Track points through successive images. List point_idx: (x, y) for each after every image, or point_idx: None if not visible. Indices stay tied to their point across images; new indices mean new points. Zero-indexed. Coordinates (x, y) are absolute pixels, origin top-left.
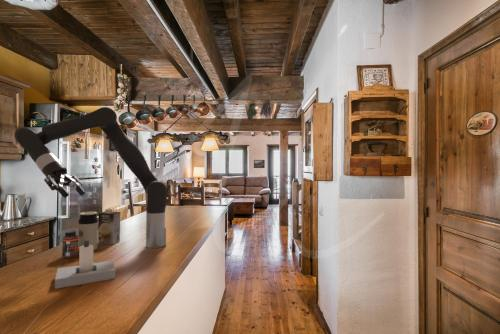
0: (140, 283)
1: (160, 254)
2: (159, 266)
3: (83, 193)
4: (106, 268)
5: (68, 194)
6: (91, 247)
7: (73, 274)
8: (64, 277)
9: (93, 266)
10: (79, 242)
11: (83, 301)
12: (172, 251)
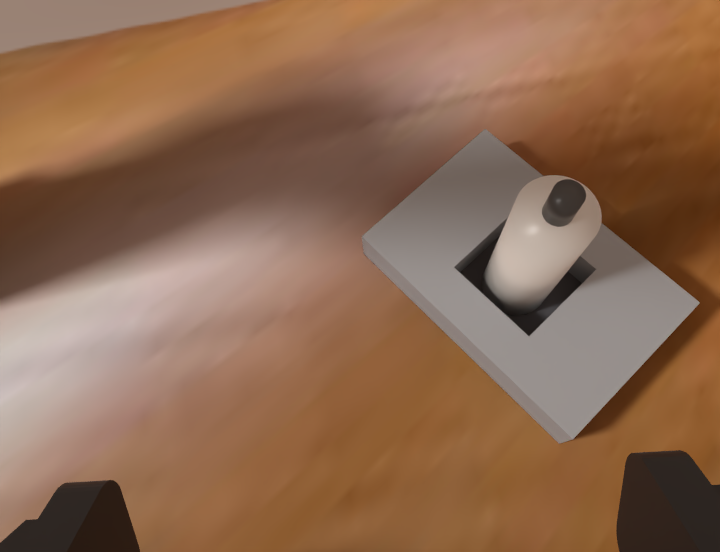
0: (490, 33)
1: (98, 153)
2: (286, 65)
3: (120, 496)
4: (480, 181)
5: (644, 455)
6: (553, 176)
7: (610, 271)
8: (659, 281)
9: (463, 277)
10: None
11: (708, 114)
12: (36, 122)
